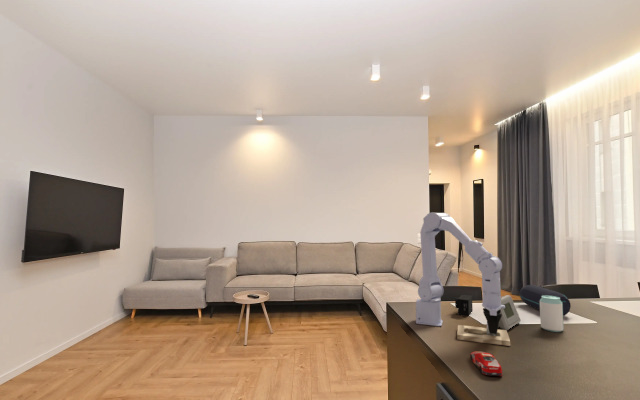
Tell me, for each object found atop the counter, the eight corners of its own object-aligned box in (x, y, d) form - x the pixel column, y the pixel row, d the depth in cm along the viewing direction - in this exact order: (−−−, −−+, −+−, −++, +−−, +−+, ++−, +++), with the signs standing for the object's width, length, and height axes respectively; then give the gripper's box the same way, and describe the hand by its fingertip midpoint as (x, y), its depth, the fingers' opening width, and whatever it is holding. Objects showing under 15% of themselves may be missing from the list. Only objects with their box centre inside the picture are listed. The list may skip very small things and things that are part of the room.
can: (539, 329, 126) (537, 297, 127) (542, 325, 131) (541, 294, 132) (562, 334, 121) (560, 300, 122) (565, 329, 126) (563, 296, 127)
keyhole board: (457, 339, 116) (457, 334, 116) (458, 328, 127) (458, 324, 127) (510, 346, 110) (510, 341, 110) (506, 334, 121) (506, 330, 121)
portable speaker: (576, 318, 140) (575, 294, 141) (552, 318, 140) (551, 294, 141) (537, 304, 165) (536, 283, 166) (517, 304, 165) (516, 283, 166)
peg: (487, 338, 116) (487, 316, 116) (485, 335, 119) (486, 313, 119) (497, 340, 115) (498, 317, 115) (495, 336, 118) (496, 314, 118)
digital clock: (506, 332, 123) (505, 302, 124) (482, 326, 131) (481, 298, 131) (529, 325, 132) (528, 297, 132) (506, 319, 139) (505, 293, 140)
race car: (468, 358, 101) (468, 344, 101) (487, 359, 100) (487, 345, 100) (482, 378, 88) (482, 362, 88) (505, 379, 87) (504, 363, 87)
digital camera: (459, 309, 155) (459, 294, 156) (472, 311, 152) (472, 295, 153) (455, 314, 146) (454, 298, 147) (468, 316, 144) (468, 299, 144)
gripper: (506, 297, 110) (508, 339, 109) (502, 288, 123) (503, 327, 122) (482, 295, 113) (483, 336, 112) (481, 287, 126) (482, 324, 125)
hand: (492, 331), depth 117 cm, fingers closed on peg, 3 cm apart
